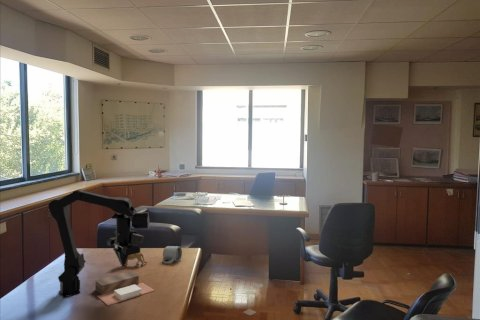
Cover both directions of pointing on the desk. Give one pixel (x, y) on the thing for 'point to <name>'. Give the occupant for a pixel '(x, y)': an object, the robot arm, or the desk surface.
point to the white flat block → (127, 292)
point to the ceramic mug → (172, 254)
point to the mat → (112, 299)
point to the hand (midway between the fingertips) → (123, 265)
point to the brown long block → (116, 282)
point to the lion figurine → (133, 256)
